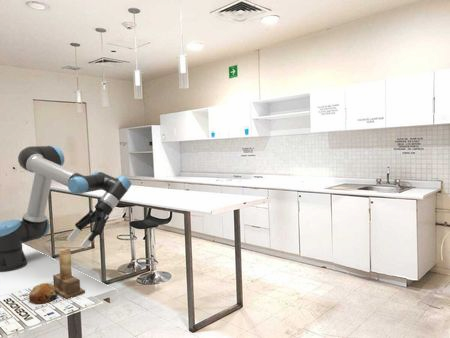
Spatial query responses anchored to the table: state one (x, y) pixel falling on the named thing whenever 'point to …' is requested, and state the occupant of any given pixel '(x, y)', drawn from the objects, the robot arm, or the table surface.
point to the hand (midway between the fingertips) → (76, 244)
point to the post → (65, 263)
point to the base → (67, 286)
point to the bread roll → (42, 293)
